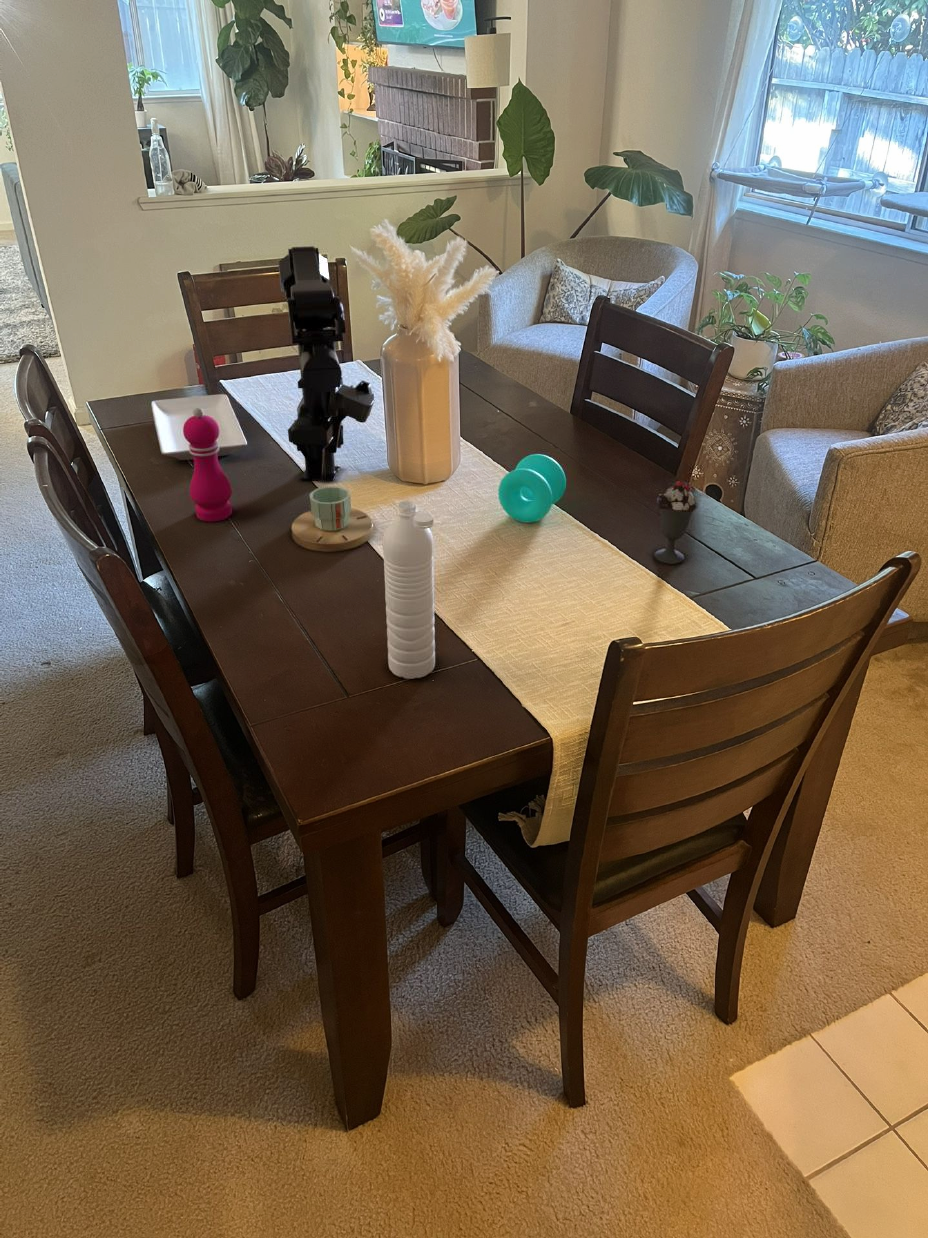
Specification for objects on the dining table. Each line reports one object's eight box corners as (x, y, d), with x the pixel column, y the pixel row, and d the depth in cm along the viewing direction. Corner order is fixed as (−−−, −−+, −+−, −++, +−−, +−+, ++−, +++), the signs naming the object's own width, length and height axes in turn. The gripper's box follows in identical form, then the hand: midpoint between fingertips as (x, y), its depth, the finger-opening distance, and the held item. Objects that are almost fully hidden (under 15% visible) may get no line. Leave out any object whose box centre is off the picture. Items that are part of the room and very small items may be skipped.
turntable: (304, 511, 167) (303, 503, 166) (380, 516, 166) (379, 508, 165) (282, 548, 155) (281, 540, 154) (363, 554, 154) (363, 545, 153)
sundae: (691, 550, 156) (705, 469, 147) (686, 569, 150) (700, 485, 142) (652, 544, 158) (664, 463, 149) (646, 562, 152) (657, 479, 144)
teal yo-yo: (494, 518, 165) (496, 467, 160) (516, 497, 173) (518, 447, 167) (546, 530, 162) (550, 478, 156) (566, 507, 169) (570, 457, 164)
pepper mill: (223, 525, 162) (206, 417, 151) (186, 520, 164) (167, 412, 153) (241, 507, 168) (227, 402, 157) (205, 503, 170) (189, 398, 159)
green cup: (317, 513, 163) (314, 485, 160) (356, 515, 162) (354, 487, 159) (307, 531, 157) (304, 502, 154) (347, 533, 156) (345, 504, 153)
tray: (228, 406, 211) (226, 391, 209) (249, 458, 187) (247, 442, 185) (152, 414, 206) (149, 399, 204) (164, 469, 182) (161, 453, 180)
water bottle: (380, 660, 129) (371, 499, 115) (421, 647, 131) (417, 488, 118) (409, 694, 122) (404, 527, 109) (451, 679, 125) (451, 515, 111)
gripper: (355, 394, 136) (361, 490, 145) (380, 356, 152) (384, 444, 160) (282, 390, 137) (292, 486, 146) (315, 352, 153) (322, 441, 161)
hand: (326, 463), depth 153 cm, fingers open, 9 cm apart
